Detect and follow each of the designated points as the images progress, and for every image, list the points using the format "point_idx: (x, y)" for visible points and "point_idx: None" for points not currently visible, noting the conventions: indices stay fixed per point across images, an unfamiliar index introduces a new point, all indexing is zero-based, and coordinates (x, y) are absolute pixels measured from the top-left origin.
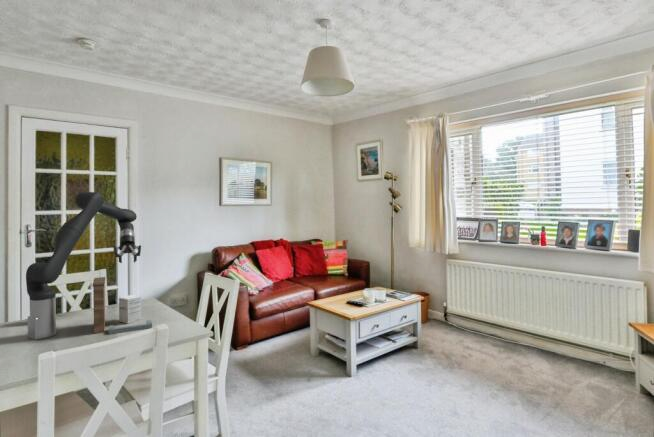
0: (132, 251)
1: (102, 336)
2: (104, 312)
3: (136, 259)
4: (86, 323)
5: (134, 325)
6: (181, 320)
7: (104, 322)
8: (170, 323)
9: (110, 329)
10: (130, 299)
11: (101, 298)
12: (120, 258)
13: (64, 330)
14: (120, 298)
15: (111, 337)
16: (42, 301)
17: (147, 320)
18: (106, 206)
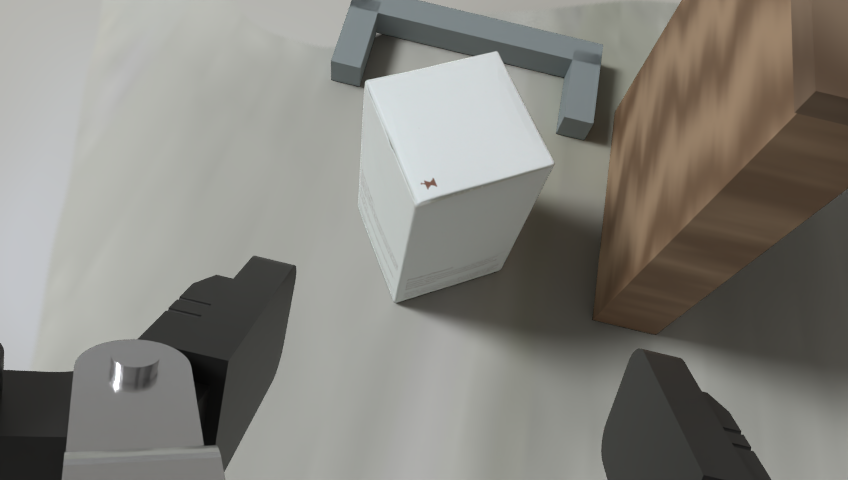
0: (213, 462)
1: (627, 56)
2: (648, 143)
3: (207, 279)
4: (718, 399)
5: (455, 26)
6: (140, 16)
7: (622, 161)
8: (228, 10)
9: (592, 50)
10: (469, 60)
11: None
12: (700, 398)
13: (845, 322)
14: (543, 142)
15: (585, 12)
16: None
17: (354, 64)
18: None
